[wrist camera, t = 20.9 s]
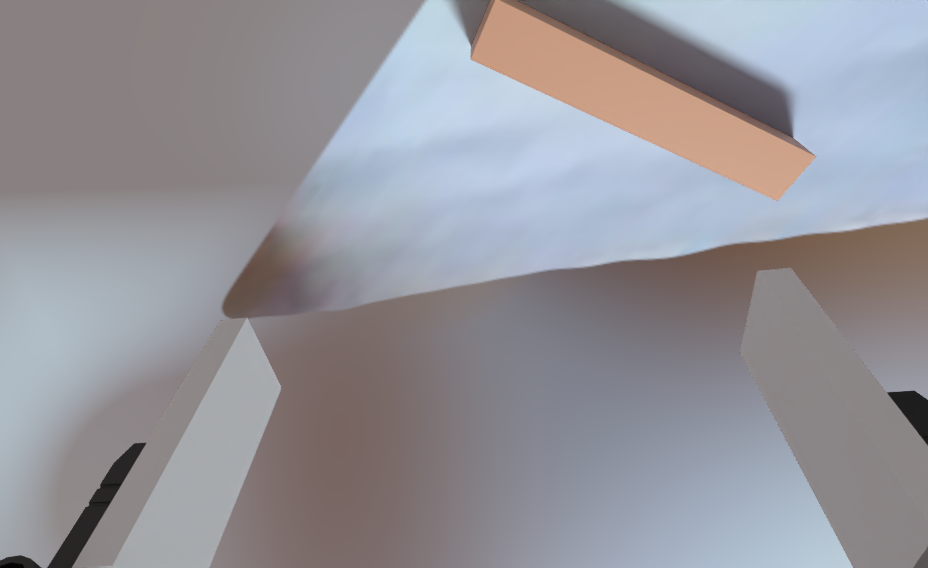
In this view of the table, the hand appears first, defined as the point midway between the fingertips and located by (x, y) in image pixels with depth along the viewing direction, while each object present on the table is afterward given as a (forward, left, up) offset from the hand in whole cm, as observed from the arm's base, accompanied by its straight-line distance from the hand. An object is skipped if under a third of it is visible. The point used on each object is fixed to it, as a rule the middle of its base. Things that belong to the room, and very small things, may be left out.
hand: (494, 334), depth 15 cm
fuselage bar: (-5, +11, -32) cm, 34 cm away
